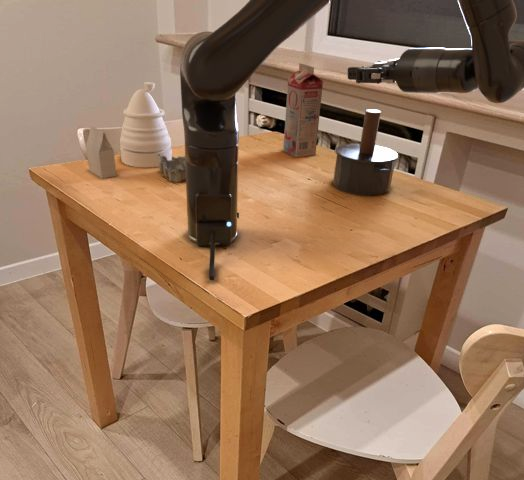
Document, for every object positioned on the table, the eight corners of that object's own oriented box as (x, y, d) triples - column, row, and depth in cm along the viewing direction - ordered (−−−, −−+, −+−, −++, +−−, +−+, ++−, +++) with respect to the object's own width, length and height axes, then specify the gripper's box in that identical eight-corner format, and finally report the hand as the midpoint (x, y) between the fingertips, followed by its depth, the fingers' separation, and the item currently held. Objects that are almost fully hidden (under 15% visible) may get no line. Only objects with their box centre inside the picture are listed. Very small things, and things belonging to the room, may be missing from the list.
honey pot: (167, 151, 143) (163, 78, 132) (176, 166, 133) (172, 88, 122) (119, 153, 139) (111, 78, 128) (124, 168, 129) (116, 88, 119)
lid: (351, 167, 116) (358, 119, 110) (325, 149, 127) (330, 104, 121) (408, 164, 120) (418, 117, 114) (378, 147, 131) (386, 103, 125)
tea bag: (102, 178, 123) (96, 133, 117) (89, 170, 127) (83, 127, 121) (116, 175, 125) (111, 131, 119) (103, 168, 129) (98, 125, 123)
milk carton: (295, 157, 145) (302, 67, 132) (283, 150, 149) (289, 63, 136) (315, 154, 147) (324, 66, 134) (302, 148, 152) (310, 62, 139)
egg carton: (157, 169, 130) (156, 152, 128) (186, 167, 133) (185, 150, 130) (169, 183, 122) (168, 165, 120) (200, 180, 125) (199, 163, 123)
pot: (353, 201, 119) (358, 168, 114) (320, 174, 133) (323, 144, 129) (405, 197, 122) (412, 165, 118) (368, 172, 137) (373, 142, 132)
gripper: (453, 42, 99) (387, 44, 110) (402, 53, 92) (338, 54, 104) (449, 86, 103) (386, 84, 114) (401, 99, 96) (339, 95, 108)
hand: (363, 70), depth 109 cm, fingers open, 8 cm apart
